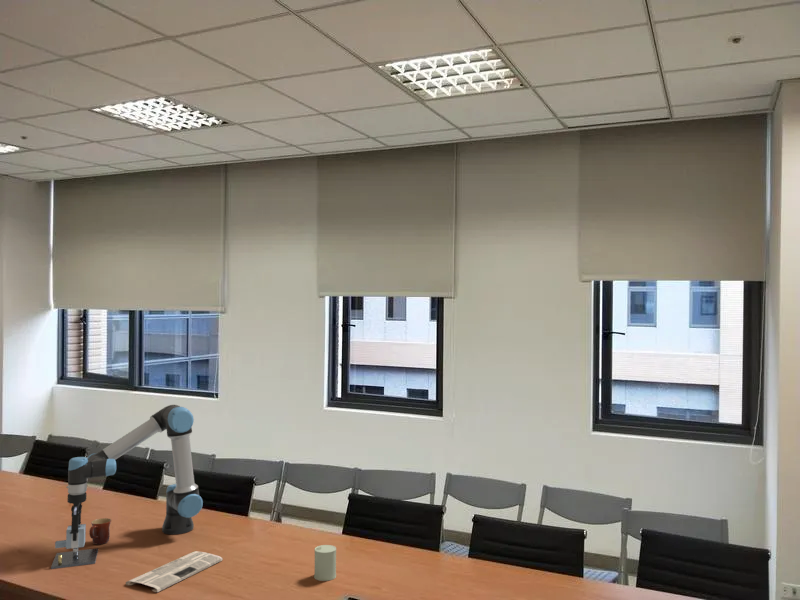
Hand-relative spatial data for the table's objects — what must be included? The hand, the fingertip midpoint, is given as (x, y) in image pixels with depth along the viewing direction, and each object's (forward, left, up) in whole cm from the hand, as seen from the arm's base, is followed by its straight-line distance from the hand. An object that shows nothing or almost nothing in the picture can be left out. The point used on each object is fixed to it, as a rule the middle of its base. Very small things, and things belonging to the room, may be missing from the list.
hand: (75, 544), depth 278 cm
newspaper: (-41, +31, -7) cm, 52 cm away
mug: (-8, -18, -7) cm, 21 cm away
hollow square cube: (+2, 0, 0) cm, 2 cm away
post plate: (0, 0, -6) cm, 6 cm away
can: (-99, +58, -7) cm, 115 cm away
